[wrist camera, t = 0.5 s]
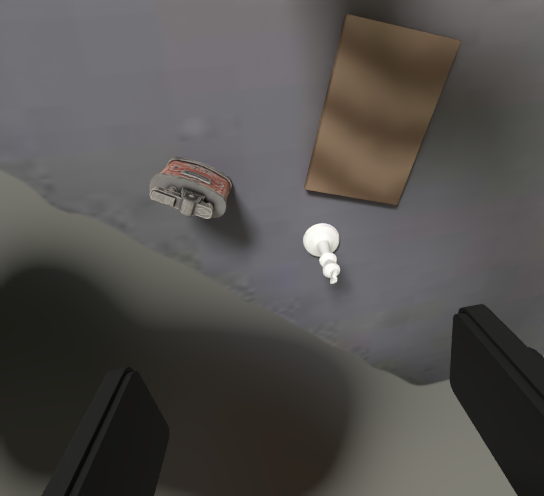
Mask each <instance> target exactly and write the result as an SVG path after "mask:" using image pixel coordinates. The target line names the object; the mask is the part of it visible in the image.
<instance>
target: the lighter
mask: <svg viewBox="0 0 544 496" xmlns="http://www.w3.org/2000/svg"><path fill="white" fill-rule="evenodd" d="M231 188H232V181H231V179H230V178H229V177H228V176H227V175H225V174H223V173H222V172H220V171H218V170H217V169H215V168H213V167H210V166H208V165H206V164H204V163H200V162H197V161H194V160H190V159H185V158H180V157H175V158H172V159H171V160H170V161H169V162H168V164H167V166H166V168H165V169H164V170H163V171H162V172H161V173H159V174H156V175H155V176H154V177H153V178H152V179H151V181H150V183H149V189H150V198H151V199H152V200H154V201H157V202H160V203H163V204H166V205H168V206H171V207H174V208H177V209H178V210H179V211H180V213H182V214H184V215H187V216H195V215H197V216H200V217H203V218H206V219H209V218H218V217H221V216H222V215H223V214H224V212H225V210H226V206H227V202H226V201H227V197H228V194H229V193H230V191H231Z"/></svg>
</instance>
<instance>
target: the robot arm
mask: <svg viewBox="0 0 544 496" xmlns="http://www.w3.org/2000/svg"><path fill="white" fill-rule="evenodd" d="M450 384H451V387H452V389H453V392H454V394H455V395H456V397H457V398H458V400H459V402H460V403H461V405H462V406H463V408H464V410H465V411H466V413H467V415H468V416H469V418H470V419H471V421H472V423H473V424H474V426H475V427H476V429H477V431H478V432H479V434H480V436H481V437H482V439H483V441H484V442H485V444H486V445H487V447H488V448H489V450H490V452H491V453H492V455H493V457H494V458H495V460H496V461H497V463H498V465H499V466H500V468H501V469H502V471H503V473H504V474H505V476H506V478H507V479H508V481H509V482H510V484H511V486H512V487H513V489H514V491H515V492H516V494H517V495H518V496H544V357H543V356H542V355H541V354H539V353H538V352H537V351H536V350H534V349H532V348H529V347H527V346H526V345H525V344H524V343H523V342H522V341H521V340H520V339H519V338H518V337H517V336H516V335H515V334H514V333H513V332H512V331H511V330H510V329H509V328H508V327H507V326H506V325H505V324H504V323H503V322H502V321H501V320H500V319H499V318H498V317H497V316H496V315H495V314H494V313H493V312H492V311H491V310H490V309H489V308H488V307H486V306H485V305H483V304H480V305H474V306H469V307H463V308H460V309H459V312H458V314H455V315H454V317H453V330H452V348H451V366H450ZM168 440H169V427H168V425H167V423H166V421H165V419H164V417H163V415H162V414H161V412H160V410H159V409H158V406H157V405H156V403H155V401H154V399H153V398H152V396H151V394H150V392H149V390H148V388H147V387H146V385H145V383H144V381H143V379H142V378H141V376H140V374H139V372H137V371H134V370H133V369H132V368H130V367H127V368H121V369H116V370H111V371H109V372H108V373H107V375H106V376H105V378H104V380H103V382H102V384H101V386H100V388H99V389H98V391H97V393H96V395H95V397H94V399H93V401H92V402H91V404H90V406H89V408H88V410H87V412H86V414H85V416H84V417H83V419H82V421H81V423H80V425H79V427H78V429H77V430H76V432H75V434H74V436H73V438H72V440H71V442H70V444H69V445H68V447H67V449H66V451H65V453H64V455H63V457H62V458H61V460H60V462H59V464H58V466H57V468H56V470H55V472H54V474H53V475H52V477H51V479H50V481H49V483H48V485H47V486H46V488H45V490H44V492H43V494H42V496H154V493H155V490H156V486H157V482H158V478H159V474H160V471H161V467H162V463H163V459H164V455H165V451H166V448H167V444H168Z"/></svg>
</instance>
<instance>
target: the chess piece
mask: <svg viewBox="0 0 544 496" xmlns="http://www.w3.org/2000/svg"><path fill="white" fill-rule="evenodd" d="M303 243H304V246H305V248H306V250H307V251H308V252H309V253H310V254H312V255H314V256H318V257H320V259H319V262H320V264H321V265H322V266H323V274H324V275H325V276H326V277H328V278H331V279H330V283H331V284H335V282H336V283H337V277H336V276H337V275H338V274H339V273H340V267H339V266H338V264H336V261H337V258H336V256H335V255H334V254H333V252H334V251H335V250H336V248H337V247H338V244H339V234H338V232H337V230H336V229H335V228H334V227H333V226H331V225H329V224H325V223H320V224H316V225H313V226H312V227H310V228H309V229H308V230H307V231H306V233H305V235H304V238H303Z"/></svg>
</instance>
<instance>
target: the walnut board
mask: <svg viewBox="0 0 544 496" xmlns="http://www.w3.org/2000/svg"><path fill="white" fill-rule="evenodd" d="M460 43H461V40H456V39H452V38H448V37H444V36H439V35H435V34H431V33H426V32H422V31H418V30H414V29H409V28H405V27H401V26H397V25H392V24H388V23H384V22H379V21H375V20H371V19H367V18H362V17H358V16H354V15H349V14H347V15H346V16H345V19H344V23H343V27H342V31H341V35H340V40H339V44H338V48H337V52H336V56H335V60H334V65H333V69H332V73H331V77H330V81H329V86H328V90H327V94H326V98H325V102H324V107H323V111H322V115H321V119H320V123H319V127H318V132H317V136H316V140H315V144H314V148H313V153H312V157H311V161H310V165H309V169H308V174H307V178H306V182H305V186H304V187H305V189H306V190H312V191H318V192H323V193H329V194H335V195H341V196H347V197H353V198H359V199H364V200H370V201H376V202H382V203H388V204H394V205H397V204H398V202H399V199H400V196H401V194H402V191H403V189H404V186H405V184H406V181H407V179H408V176H409V173H410V171H411V168H412V166H413V163H414V161H415V158H416V156H417V153H418V150H419V148H420V145H421V143H422V140H423V138H424V135H425V132H426V130H427V127H428V125H429V122H430V120H431V117H432V115H433V112H434V109H435V107H436V104H437V102H438V99H439V97H440V94H441V92H442V89H443V86H444V84H445V81H446V79H447V76H448V74H449V71H450V69H451V66H452V63H453V61H454V58H455V56H456V53H457V51H458V48H459V45H460Z"/></svg>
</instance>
